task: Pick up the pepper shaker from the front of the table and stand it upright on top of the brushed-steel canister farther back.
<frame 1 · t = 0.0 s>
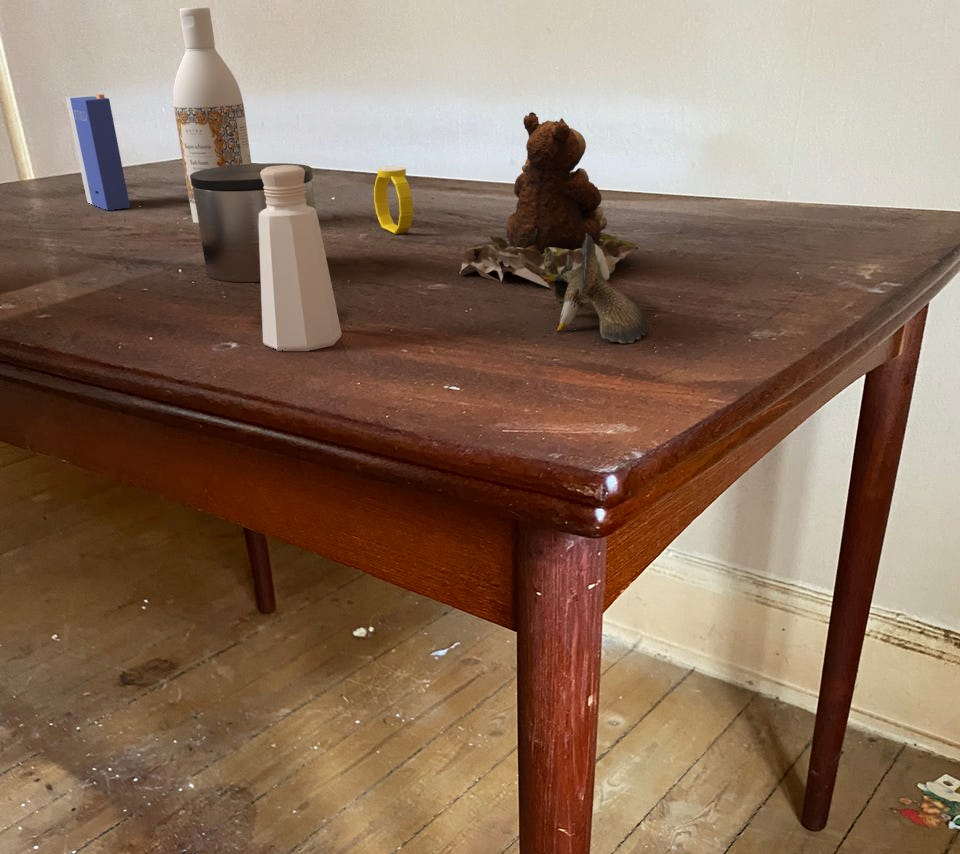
bear figurine: (554, 269, 90), on the table
pepper shaker: (303, 344, 72), on the table
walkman: (108, 207, 126), on the table
canister: (264, 269, 92), on the table
bath foam: (226, 226, 113), on the table
watch: (395, 233, 106), on the table
eagle figurine: (587, 330, 73), on the table
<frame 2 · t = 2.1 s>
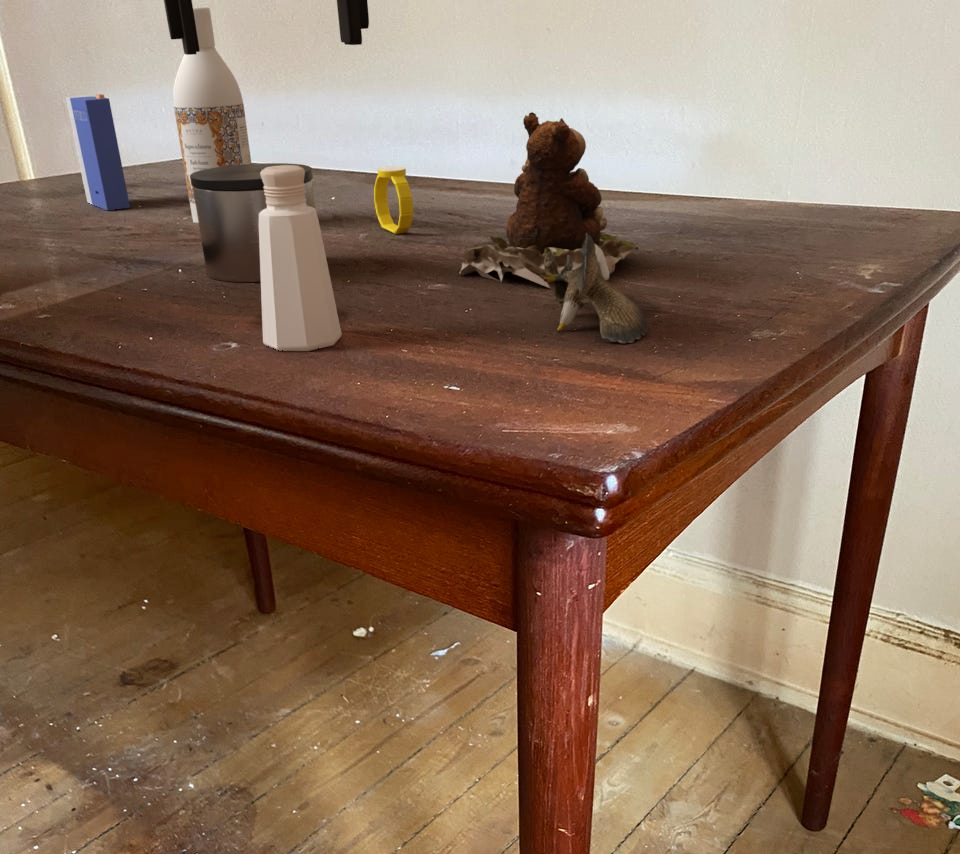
hand: (273, 48, 63), 18 cm above the table, tool pointing down, fingers open, 9 cm apart
nothing on the table moved.
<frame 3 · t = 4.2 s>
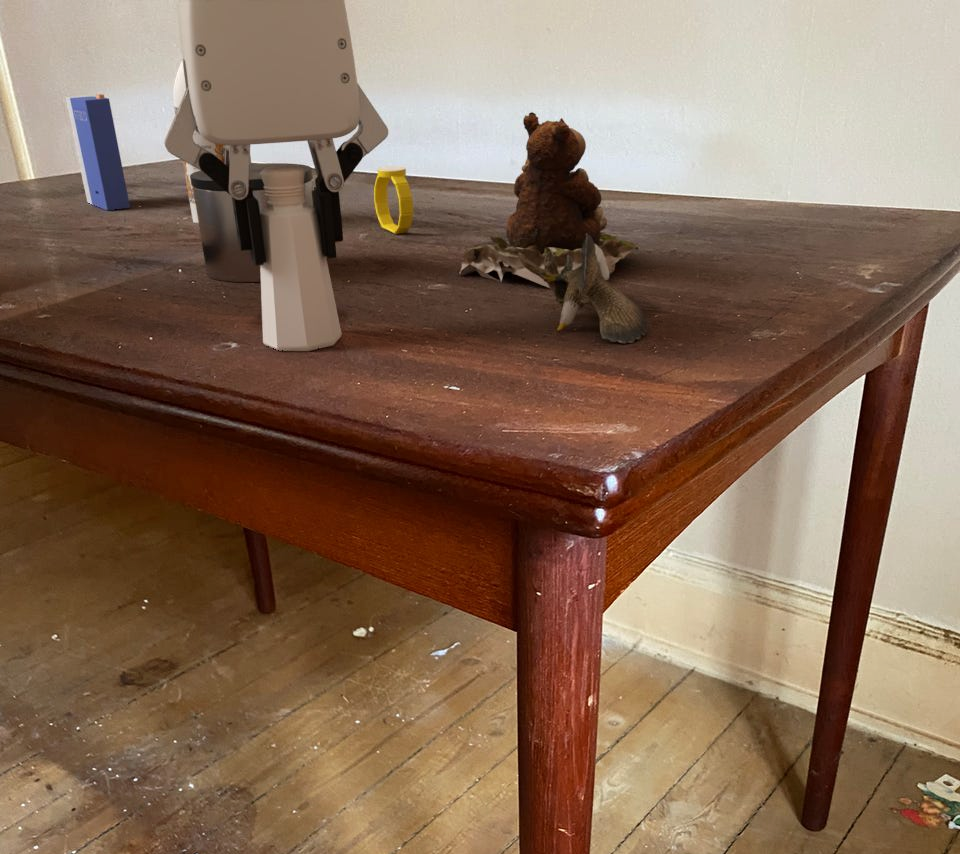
hand: (292, 254, 69), 6 cm above the table, tool pointing down, fingers closed on pepper shaker, 4 cm apart
pepper shaker: (303, 344, 72), on the table, touching gripper
everything else where it was.
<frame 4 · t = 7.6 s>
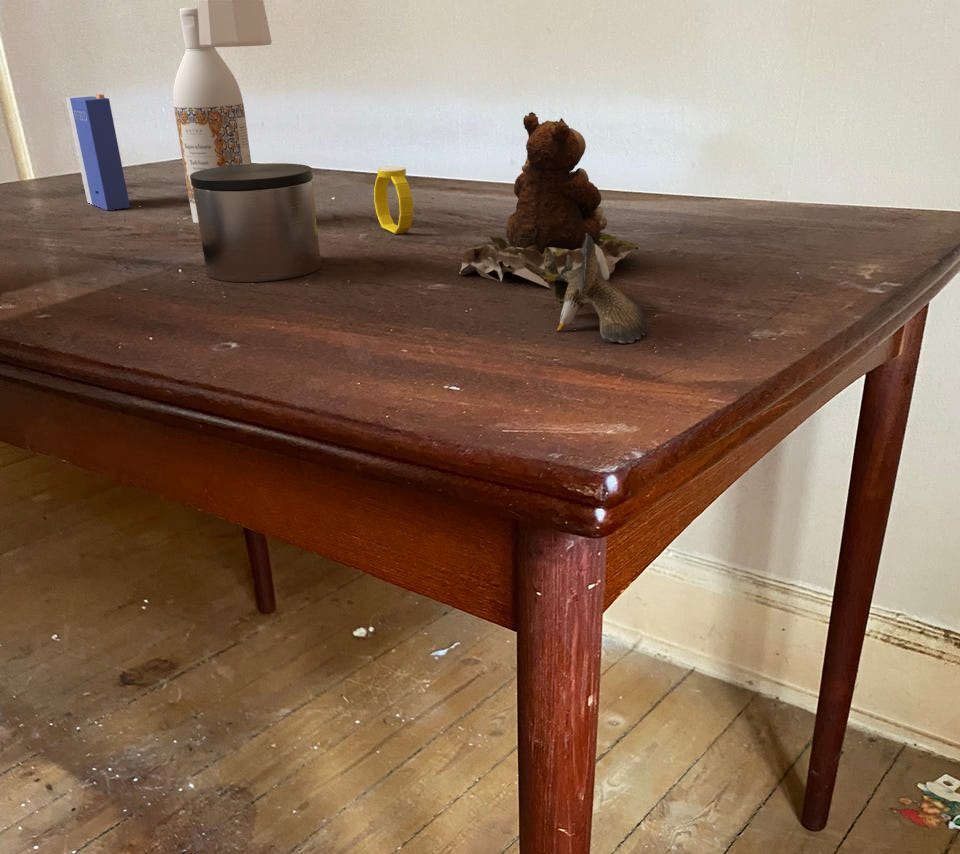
pepper shaker: (236, 48, 80), point 17 cm above the table, touching gripper
everything else where it was.
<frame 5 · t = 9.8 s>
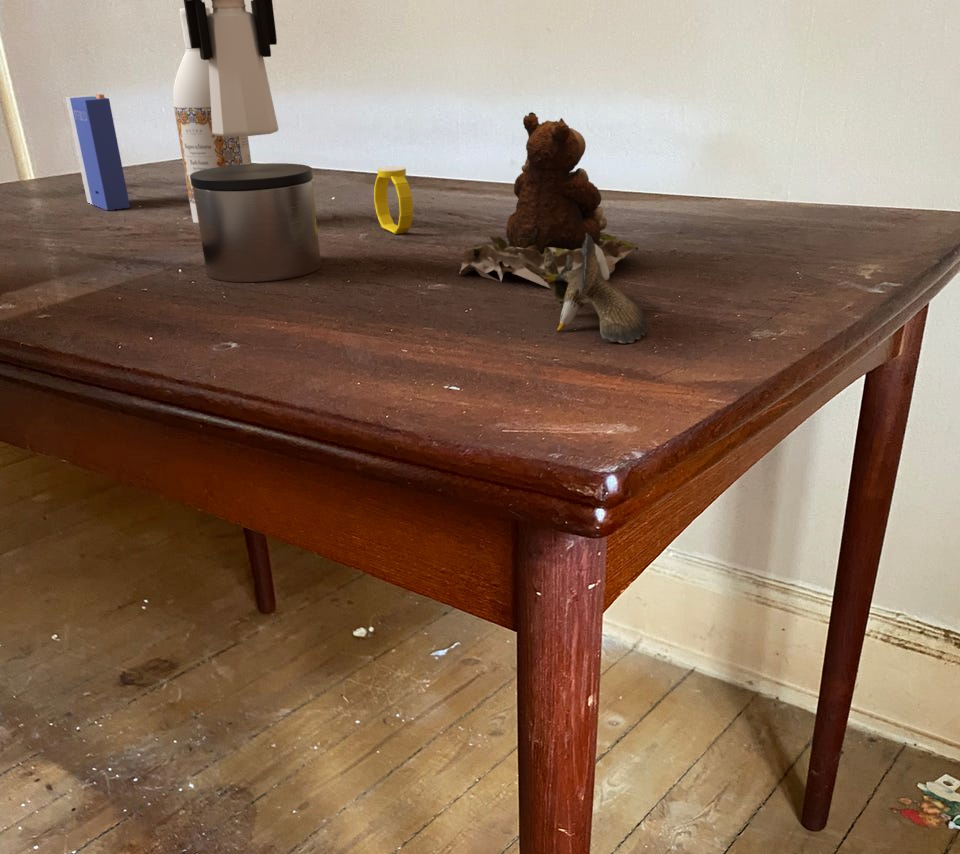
hand: (235, 54, 84), 17 cm above the table, tool pointing down, fingers closed on pepper shaker, 4 cm apart
pepper shaker: (246, 135, 87), point 11 cm above the table, touching gripper
everything else where it was.
when the fingers open (14 cm above the table, at t = 11.1 s): pepper shaker stays where it is, resting on canister.
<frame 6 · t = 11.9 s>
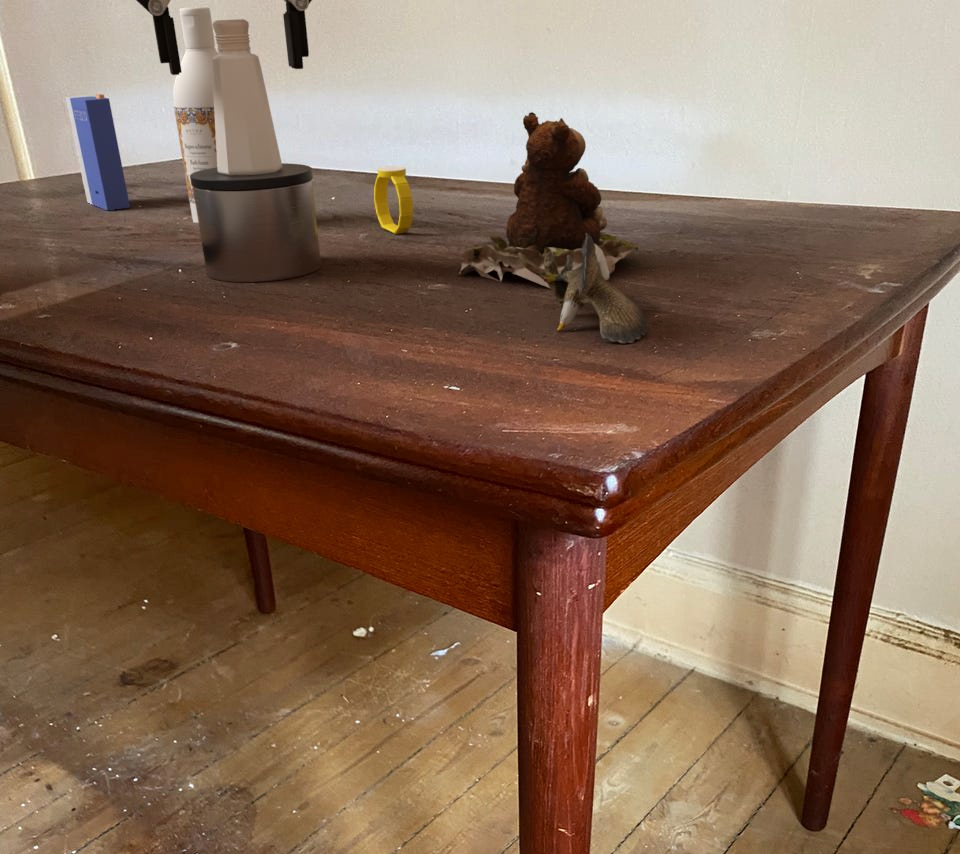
hand: (236, 71, 84), 15 cm above the table, tool pointing down, fingers open, 9 cm apart
pepper shaker: (250, 173, 88), point 8 cm above the table, touching canister
everything else where it was.
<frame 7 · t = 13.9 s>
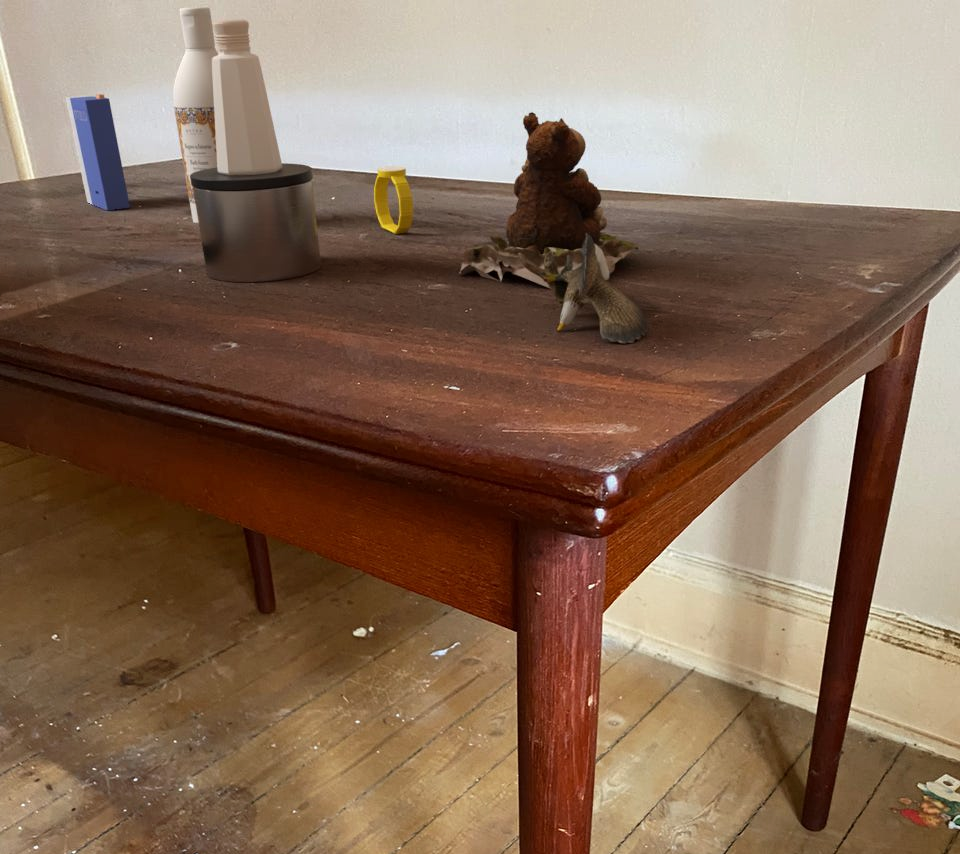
nothing on the table moved.
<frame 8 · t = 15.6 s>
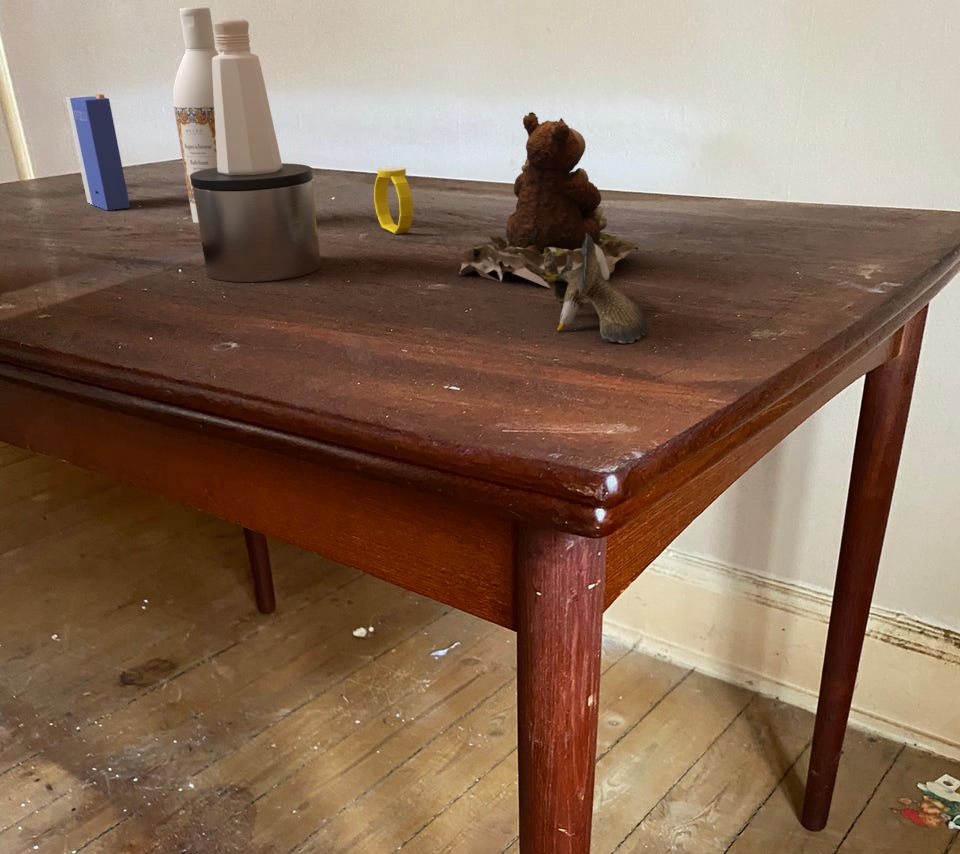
nothing on the table moved.
at the end: pepper shaker 0.1 cm off-centre on the canister, point 7.8 cm above the canister's base; pepper shaker tilted 0° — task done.
